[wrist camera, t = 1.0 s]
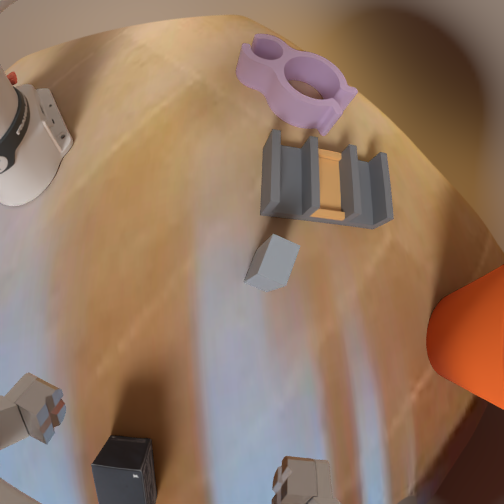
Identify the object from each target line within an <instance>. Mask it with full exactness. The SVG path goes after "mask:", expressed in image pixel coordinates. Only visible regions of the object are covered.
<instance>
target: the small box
mask: <svg viewBox="0 0 504 504" xmlns="http://www.w3.org/2000/svg"><path fill="white" fill-rule="evenodd" d="M91 466H92V472H93V477H94V482H95V487H96V492H97V497H98V502H99V504H155V503H156V499H157V490H156V481H155V480H156V479H155V472H154V460H153V450H152V440H151V439H148V438H132V437H123V436H113V435H111V436H110V437H109V439H108V440H107V442H106V444H105V445H104V447H103V448H102V450H101V451H100V453H99V454H98V456H97V457H96V459H95V460H94V462H93V463H92V464H91Z"/></svg>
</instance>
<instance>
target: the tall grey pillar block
mask: <svg viewBox="0 0 504 504" xmlns="http://www.w3.org/2000/svg"><path fill="white" fill-rule="evenodd" d="M299 249H300V245H297V244H295V243H293V242H291V241H289V240H286V239H284V238H282V237H280V236H277V235H275V234H272V235H271V236H270V237H269V238H268V239H267V240H266V241H265V242H264V243H263V244H262V245H261V246H260V247H259V248H258V249H257V250H256V253H255V255H254V258H253V260H252V263H251V265H250V268H249V270H248V273H247V275H246V278H245V280H244V283H247V284H249V285H251V286H254V287H256V288H258V289H261V290H263V291H266V292H269V291H272V290H275V289H278V288H281V287H284V286H286V284H287V282H288V279H289V276H290V273H291V271H292V268H293V265H294V262H295V260H296V257H297V254H298V251H299Z"/></svg>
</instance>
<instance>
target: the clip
mask: <svg viewBox="0 0 504 504" xmlns="http://www.w3.org/2000/svg"><path fill="white" fill-rule="evenodd" d="M236 76H237V78H238V79H239V81H240V82H241V83H243V84H244V85H245V86H247V87H249V88H252V89H255V90H258V91H259V92H261V93H262V94H263V95H264V96H265V97H266V100H267V103H268V105H269V107H270V108H271V110H272V111H273V112H274V113H275V114H276V115H277V116H278V117H279V118H280V119H282V120H283V121H285V122H286V123H288V124H291V125H293V126H296V127H300V128H307V129H310V128H316V129H318V131H319V133H320V134H321V135H322V136H324V135H326V134H327V133H328V132H329V131H330V129H331V128H332V127H333V125H334V124H335V123H336V122H337V120H338V119H339V118H340V116H341V115H342V114H343V111H344V110H345V108H346V107H347V106H348V104H349V103H350V102H351V101H352V99H353V98H354V97H355V95H356V94H357V93H358V91H357V89H356V88H354V87H350V86H348V85H347V82H346V79H345V77H344V75H343V74H342V72H341V71H340V70H339V69H338V68H337V67H336V66H335V65H334V64H333V63H331V62H330V61H329V60H327V59H325V58H324V57H322V56H319V55H317V54H314V53H310V52H305V51H298V50H295V49H293V48H291V47H290V46H288V45H287V44H286V43H285V42H284V41H282V40H281V39H279V38H277V37H275V36H272V35H268V34H255V36H254V40H253V43H252V46H250V45H249V44H247V43H243V44H242V48H241V51H240V55H239V59H238V63H237V67H236ZM287 80H298V81H302V82H305V83H307V84H309V85H311V86H312V87H314V88H315V89H316V90H317V91H318V92H319V93H320V94H321V95H322V97H323V99H324V100H321V99H314V98H311V97H308V96H305V95H303V94H302V93H300V92H298V91H297V90H296V89H294V88H293V87H292V86H291V85H290V84H289V82H288V81H287Z"/></svg>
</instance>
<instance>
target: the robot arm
mask: <svg viewBox="0 0 504 504" xmlns="http://www.w3.org/2000/svg"><path fill="white" fill-rule="evenodd" d="M16 1H17V0H0V13H1V12H3V11H4V10H5V9H6V8H8V7H9V6H10V5H11V4H13V3H14V2H16ZM16 83H17V77H16V74H15V72H11V73H10V74H8V75H7V76H6V74H5V72H4V71H3V69H2V67H1V65H0V202H1V203H2V204H4V205H8V206H19V205H22V204H25V203H28V202H30V201H31V200H33V199H35V198H36V197H37V196H38V195H40V194H41V193H42V192H43V191H44V190H45V189H46V188H47V186H48V185H49V184H50V182H51V181H52V179H53V178H54V176H55V174H56V172H57V170H58V167H59V164H60V162H61V160H62V158H63V157H64V155H65V154H66V153H67V152H68V151H69V149H70V148H71V147H72V145H73V139H72V137H71V135H70V133H69V131H68V128H67V126H66V124H65V122H64V120H63V118H62V115H61V113H60V111H59V109H58V107H57V104H56V102H55V100H54V97H53V95H52V93H51V91H50V90H49V89H48V88H41V89H35V88H34V86H33V85H31V84H24V85H20V86H17V87H14V86H12V85H14V84H16ZM63 137H65V138H63ZM62 138H63V139H62ZM62 397H63V393H62V390H61V389H59V388H57V387H55V386H53V385H51V384H50V383H48V382H46V381H44V380H42V379H40V378H38V377H36V376H35V375H33V374H31V373H26V374H25V375H24V376H23V377H22V378H21V379H20V380H19V381H18V382H17V383H16V384H15V385H14V387H13V388H12V389H11V390H10V391H9V392H8V393H7V394H6V395H5V397H3V396H2V395H1V396H0V450H1V449H3V448H6V447H8V446H10V445H12V444H14V443H16V442H18V441H20V440H22V439H25V438H27V437H29V435H30V436H32V437H34V438H35V439H37V440H39V441H41V442H43V443H45V444H48V442H49V441H50V439H51V438H52V436H53V435H54V433H55V431H54V427H56V426H59V425H60V424H61V423H62V421H63V419H64V416H65V413H66V406H65V403H64V402H63V400H62V399H61V398H62ZM272 490H273V491H274V492H275V496H274V497H273V499H272V504H341V503H340V502H339V501H338V499H337V498H333V497H332V486H331V476H330V466H329V462H328V461H327V460H316V459H310V458H300V457H291V456H285V457H284V459H283V460H282V466H280V467H278V469H277V471H276V473H275V476H274V479H273V489H272ZM0 504H41V503H40V502H38V501H36V500H35V499H33V498H31V497H29V496H28V495H26V494H25V493H23V492H21V491H20V490H18V489H17V488H15V487H13V486H12V485H10V484H9V483H7V482H6V481H4V480H3V479H2V478H0Z"/></svg>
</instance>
